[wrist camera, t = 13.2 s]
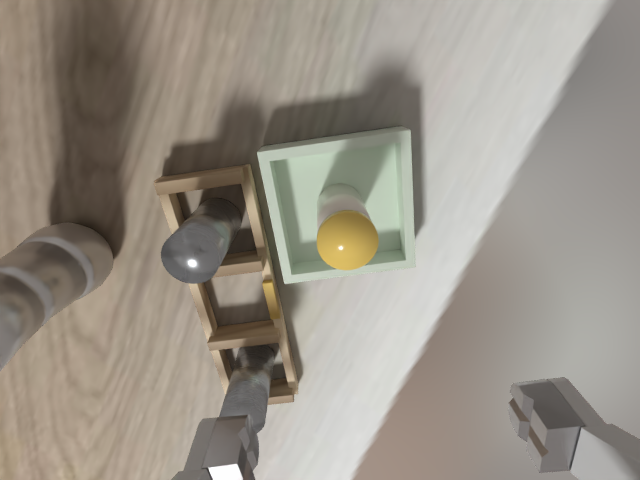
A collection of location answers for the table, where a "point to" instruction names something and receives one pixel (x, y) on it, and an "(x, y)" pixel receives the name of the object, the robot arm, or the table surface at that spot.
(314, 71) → the table surface
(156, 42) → the table surface
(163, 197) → the rack
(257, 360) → the canister
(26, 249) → the plastic bottle
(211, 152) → the table surface
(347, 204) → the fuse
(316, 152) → the tray
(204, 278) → the canister
